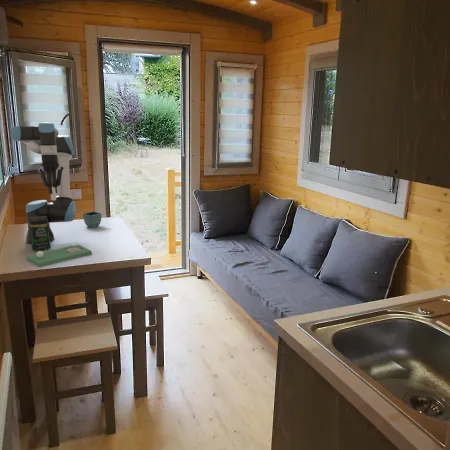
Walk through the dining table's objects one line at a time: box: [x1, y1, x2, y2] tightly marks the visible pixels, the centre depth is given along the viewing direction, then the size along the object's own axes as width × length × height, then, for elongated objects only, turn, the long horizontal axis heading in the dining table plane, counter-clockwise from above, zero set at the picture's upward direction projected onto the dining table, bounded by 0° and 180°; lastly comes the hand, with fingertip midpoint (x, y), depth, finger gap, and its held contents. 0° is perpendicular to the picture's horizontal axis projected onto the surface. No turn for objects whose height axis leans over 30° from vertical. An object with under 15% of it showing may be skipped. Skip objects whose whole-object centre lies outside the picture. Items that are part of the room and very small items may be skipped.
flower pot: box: [82, 211, 102, 229], centre depth 279 cm, size 9×9×9 cm
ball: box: [35, 251, 44, 258], centre depth 215 cm, size 4×4×4 cm
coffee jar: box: [29, 216, 51, 252], centre depth 232 cm, size 10×8×19 cm
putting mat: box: [26, 244, 93, 268], centre depth 223 cm, size 15×28×2 cm, turn 134°
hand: (53, 199), depth 221 cm, fingers closed
